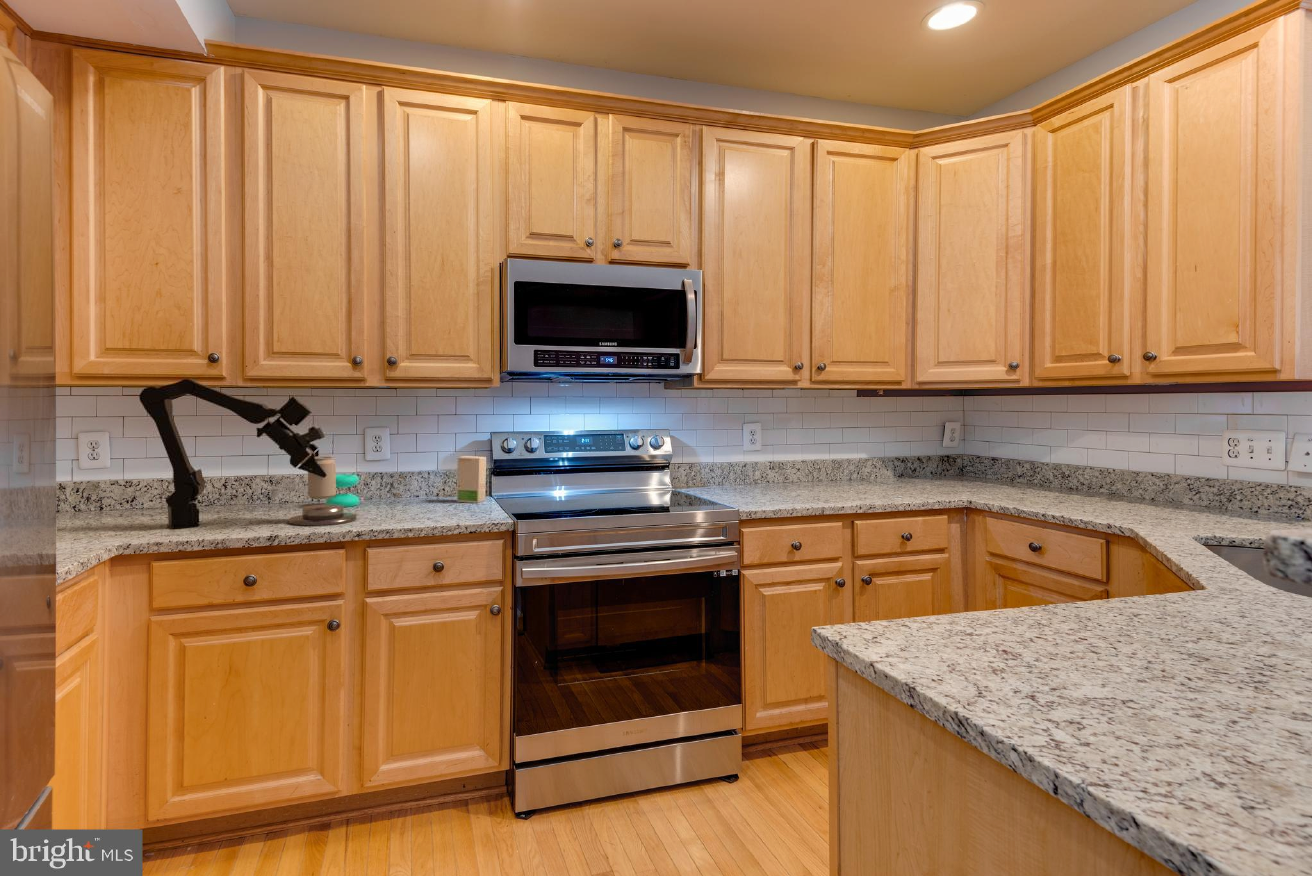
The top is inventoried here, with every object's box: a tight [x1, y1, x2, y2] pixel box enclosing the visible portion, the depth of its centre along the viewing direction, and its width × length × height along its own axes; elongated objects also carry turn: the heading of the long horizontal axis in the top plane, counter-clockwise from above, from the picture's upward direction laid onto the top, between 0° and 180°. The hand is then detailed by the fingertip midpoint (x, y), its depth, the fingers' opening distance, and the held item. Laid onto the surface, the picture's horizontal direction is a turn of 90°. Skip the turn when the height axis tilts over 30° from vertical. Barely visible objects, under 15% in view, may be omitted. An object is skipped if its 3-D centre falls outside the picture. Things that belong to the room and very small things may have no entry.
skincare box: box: [456, 455, 487, 504], centre depth 257 cm, size 8×7×16 cm
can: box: [307, 455, 337, 500], centre depth 218 cm, size 8×8×12 cm
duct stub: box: [288, 503, 357, 527], centre depth 218 cm, size 18×18×4 cm
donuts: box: [326, 473, 360, 508], centre depth 246 cm, size 10×10×10 cm
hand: (326, 475), depth 218 cm, fingers closed on can, 7 cm apart
